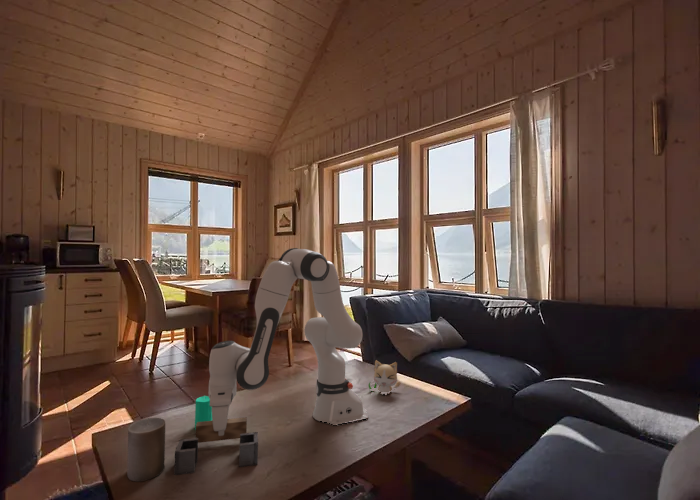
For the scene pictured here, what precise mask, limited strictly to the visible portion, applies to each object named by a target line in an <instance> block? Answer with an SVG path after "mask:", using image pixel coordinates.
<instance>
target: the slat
mask: <svg viewBox="0 0 700 500" xmlns="http://www.w3.org/2000/svg"><path fill="white" fill-rule="evenodd" d="M247 419H248V418H247V416H245V417H236V418H227V425H226V429H225V430H224V435H223V436H219V435H218V431H214V429H213V421H204V422H197V424H196V430H195V438H198V444H200V443H209V442H217V441H218V442H219V441H227V440H235V439H236V440H237V439H240V434H243V433H248V432H247V429H248V427H247V423H248V420H247Z"/></svg>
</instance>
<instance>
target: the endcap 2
mask: <svg viewBox="0 0 700 500" xmlns="http://www.w3.org/2000/svg"><path fill="white" fill-rule="evenodd" d="M258 453H259V434H258V431H255V432H254V431H253V432H247V433H243V434H240V438H239V457H238V458H239V459H238V467H239V468H245V467H251V466H258V461H259V460H258V458H259V456H258V455H259V454H258Z"/></svg>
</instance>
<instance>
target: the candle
mask: <svg viewBox="0 0 700 500" xmlns="http://www.w3.org/2000/svg"><path fill="white" fill-rule="evenodd" d="M194 406H195V408H194V410H195V412H194V430H195V431H196V424H197V422H204V421H212V406H210V399H209V395H205V394H204V395H203V396H200V397H197V398H196V399H195V405H194Z"/></svg>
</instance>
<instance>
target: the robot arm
mask: <svg viewBox="0 0 700 500" xmlns="http://www.w3.org/2000/svg"><path fill="white" fill-rule="evenodd" d="M298 279H301V280H306V281H309V282H310V284H311V291H312V293H311V294H312V297H313V298H312V299H313V303H314V308H315V310H316V311H317V313H318V314H320V315H321V316H317V317H311V318H310V319H308V321H307V322H306V323H305V325H304V328H303V329H304V330H303V331H304V336H305V338H306V339H307V341H308V342H309V343H310V344H311V345H312V348H313V350H314V352H315V355H316V359H317V379H316V386H315V387H316V388H315V393H316V398H315V406H314V408H313V409H314V410H313V413H312V417H313V419H315V420H316V421H318V422H320V421H322V422H321V423H324V422H327V423H326V424H329V423H330V424H329V425H331V424H334V425H336V424H341V423H345V422H349V421H353V420H356V419H361V418H366V417H367V416H366V415H364V413H367V412H366V411H368V410H367V408H366V407H365V408H363V407H364V405H363V401H362V399H361V397H360V396H359V395H358V394H357V393H356V392H355V391H353V387H354V385H353V383H351V382H350V381H349V380H348V379H347V378H346V361H345V358H343V356H342V355H341V354H339V352H338V350H337V348H339V349H346V350H347V349H356V348H358V347H359V345H360V344H361V342H362V341H363V329H362V327H361V325H360V324H359V323H357V322H356V321H355V320H354V319H353V318H352V316H350V314H349V313H348V311H347V309H346V307H345V305H344V302H343V297H342V291H341V285H340V280H339V275H338V272H337V269H336V266H335V264H334V263H333V262H332V261H330V260H327V258H326V257H325V256H324V255H323V254H321V253H320V252H318V251H314V250H311V249H306V248H297V247H294V248H288V249H286V250H285V251H284V252H283V253H282V254H281V255H280V258H279V259H277V260H273V261H272V262H270V263H269V265H268V266H267V268H266V270H265V271H264V273H263V275H262V277H261V280H260V282H259V285H258V288H257V291H256V296H255V301H254V310H255V316H256V327H255V332H254V334H253V335H254V336H253V338H252V341H251V345H250V347H247V346H243V345H240V344H239V343H236V342H235V341H234V340H223V341H220V342H218V343H216V344H214V345H213V346H212V347H211V350H210V353H209V359H208V360H209V361H208V363H209V364H208V369H209V370H208V372H209V381H208V397H209V399H210V406H212V421H213V429H214V431H218V435H219V436H223V435H224V430H225V429H226V425H227V419H229V418H228V416H229V411H230V406H231V405H232V402H233V400H234V397H236V396H237V383H238V385H239V386H240V387H241V388H243V390H246V391H247V390H249V391H252V390H253V391H254V390H256V389H259V388H261V387H263V386H264V385H265V384H266V382H267V381H268V378H269V375H270V368H269V356H270V353H271V350H272V346H273V342H274V339H275V334H276V332H277V328H278V326H279V322H280V320H281V318H282V315H283V313H284V311H285V308H286V305H287V302H288V301H289V297H290V294H291V289H292V287H293V284H294V283H295V282H296V281H297V280H298Z"/></svg>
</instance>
